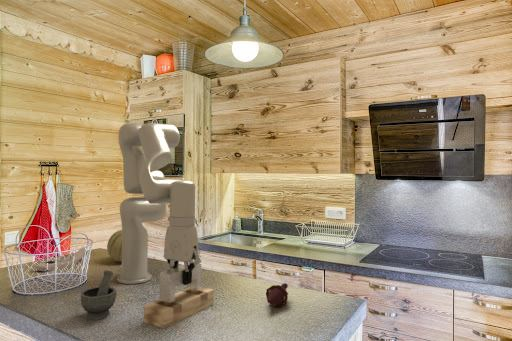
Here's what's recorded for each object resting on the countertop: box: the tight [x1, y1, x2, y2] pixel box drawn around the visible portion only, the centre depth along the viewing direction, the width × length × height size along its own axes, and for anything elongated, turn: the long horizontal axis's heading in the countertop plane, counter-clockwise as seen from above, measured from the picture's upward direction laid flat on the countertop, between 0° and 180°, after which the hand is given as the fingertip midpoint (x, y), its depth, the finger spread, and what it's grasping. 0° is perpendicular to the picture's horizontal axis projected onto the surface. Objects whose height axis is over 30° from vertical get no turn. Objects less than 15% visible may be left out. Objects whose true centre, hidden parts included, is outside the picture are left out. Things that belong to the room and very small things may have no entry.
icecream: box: [265, 282, 289, 309], centre depth 118 cm, size 7×7×15 cm
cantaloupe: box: [106, 229, 122, 263], centre depth 170 cm, size 15×15×15 cm
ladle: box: [30, 247, 86, 273], centre depth 161 cm, size 6×6×25 cm
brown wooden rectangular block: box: [143, 286, 215, 329], centre depth 112 cm, size 8×22×4 cm, turn 150°
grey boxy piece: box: [158, 262, 202, 303], centre depth 112 cm, size 4×14×8 cm, turn 150°
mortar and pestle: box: [80, 270, 117, 321], centre depth 109 cm, size 11×9×12 cm
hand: (181, 281), depth 112 cm, fingers closed on grey boxy piece, 4 cm apart
